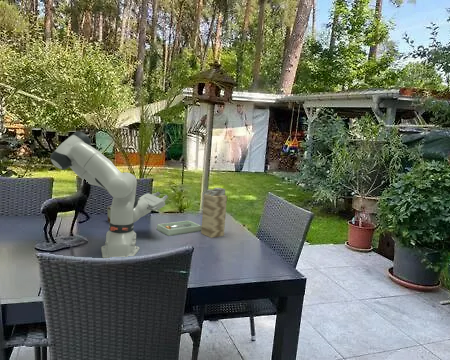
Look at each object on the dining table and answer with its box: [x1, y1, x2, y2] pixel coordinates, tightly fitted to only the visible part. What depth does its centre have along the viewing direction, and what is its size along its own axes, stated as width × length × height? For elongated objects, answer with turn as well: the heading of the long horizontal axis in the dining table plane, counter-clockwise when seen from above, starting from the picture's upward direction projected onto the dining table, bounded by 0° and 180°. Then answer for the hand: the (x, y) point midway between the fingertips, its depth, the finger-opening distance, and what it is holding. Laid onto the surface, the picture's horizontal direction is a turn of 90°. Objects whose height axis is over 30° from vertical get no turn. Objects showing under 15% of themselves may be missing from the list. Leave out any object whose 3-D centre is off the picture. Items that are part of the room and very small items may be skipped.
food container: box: [106, 205, 111, 223], centre depth 234 cm, size 12×6×10 cm, turn 47°
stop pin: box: [165, 224, 191, 230], centre depth 230 cm, size 18×2×2 cm
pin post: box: [200, 187, 228, 239], centre depth 225 cm, size 10×10×29 cm
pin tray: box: [156, 220, 202, 237], centre depth 229 cm, size 24×14×4 cm, turn 130°
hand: (163, 194), depth 217 cm, fingers open, 8 cm apart
